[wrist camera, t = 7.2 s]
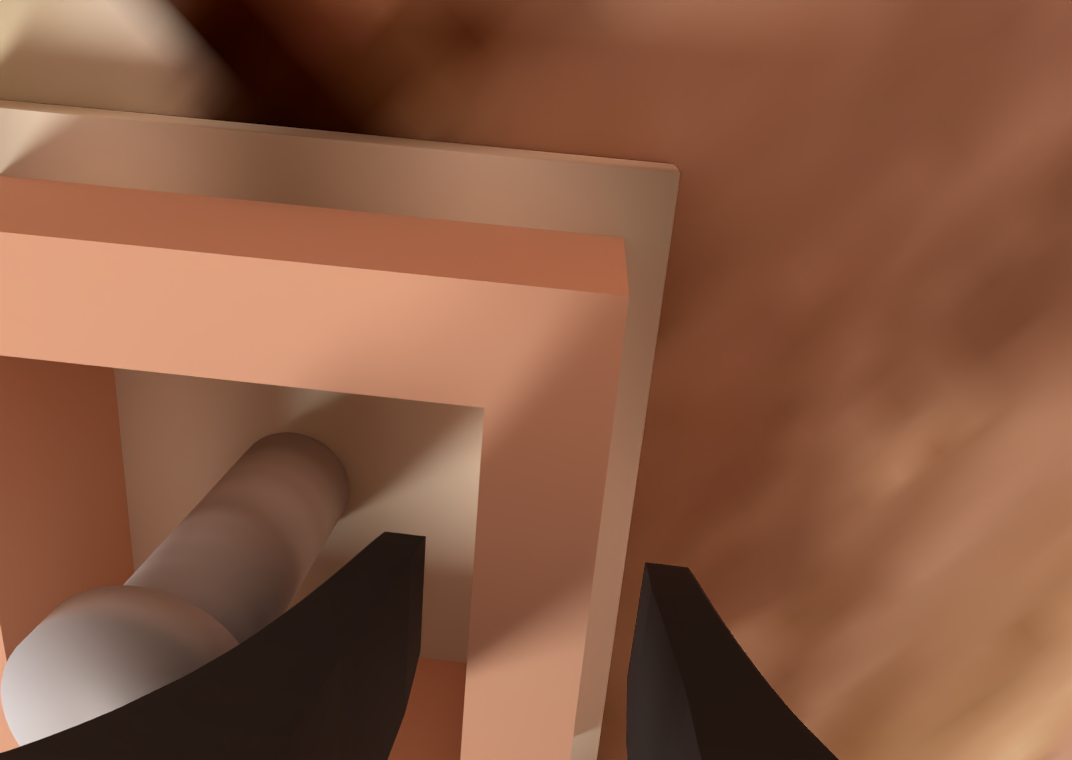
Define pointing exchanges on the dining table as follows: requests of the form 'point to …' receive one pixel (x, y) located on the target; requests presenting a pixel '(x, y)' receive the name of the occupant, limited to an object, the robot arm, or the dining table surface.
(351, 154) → the thin beige base plate
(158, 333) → the pink square frame
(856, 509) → the dining table surface
